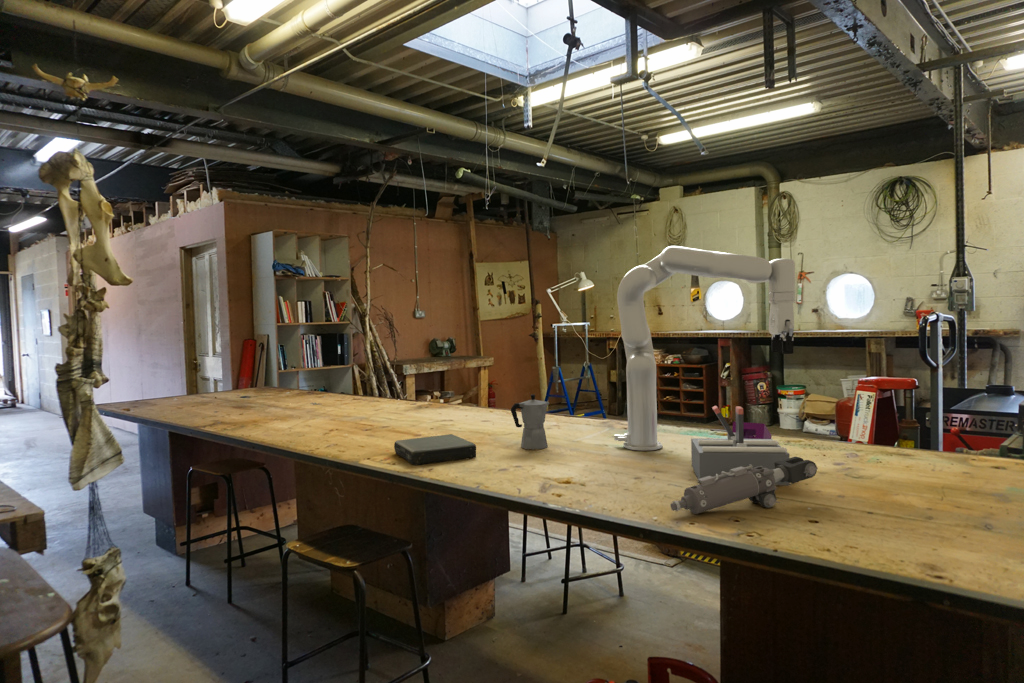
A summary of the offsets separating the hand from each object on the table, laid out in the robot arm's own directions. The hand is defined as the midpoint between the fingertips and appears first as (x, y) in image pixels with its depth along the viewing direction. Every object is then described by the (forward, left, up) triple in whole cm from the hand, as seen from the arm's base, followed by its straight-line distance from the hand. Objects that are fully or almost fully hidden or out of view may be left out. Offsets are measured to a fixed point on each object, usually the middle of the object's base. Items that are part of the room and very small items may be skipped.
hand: (782, 352), depth 198 cm
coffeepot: (-81, 0, -31) cm, 86 cm away
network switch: (-111, -14, -32) cm, 116 cm away
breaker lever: (-20, -37, -22) cm, 47 cm away
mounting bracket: (-9, +2, -31) cm, 33 cm away
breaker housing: (-20, -33, -31) cm, 49 cm away
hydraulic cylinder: (-23, -61, -31) cm, 73 cm away
